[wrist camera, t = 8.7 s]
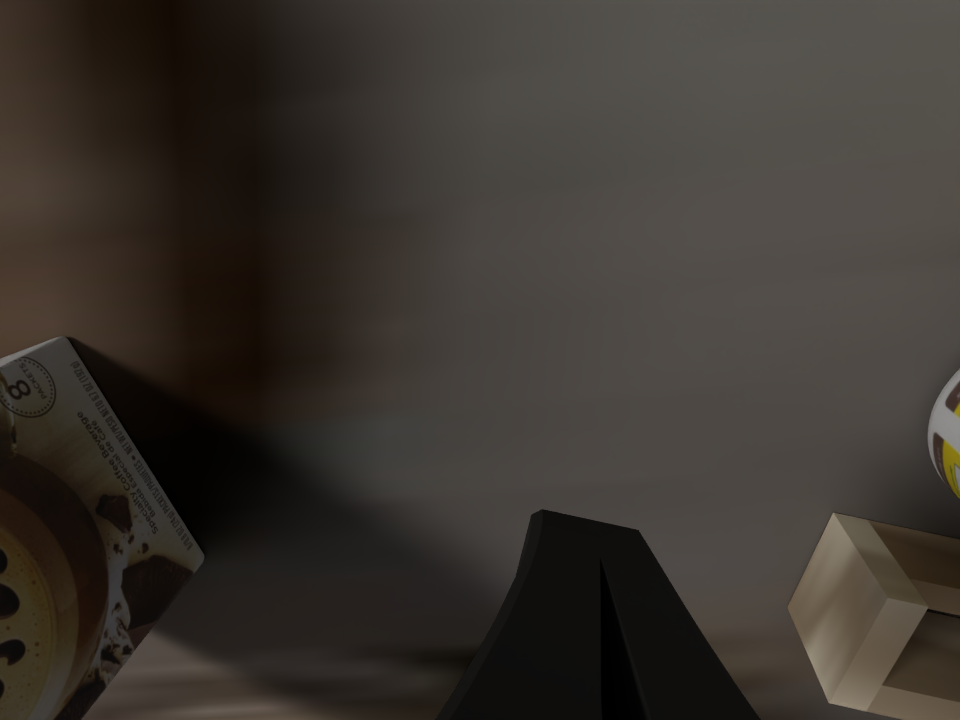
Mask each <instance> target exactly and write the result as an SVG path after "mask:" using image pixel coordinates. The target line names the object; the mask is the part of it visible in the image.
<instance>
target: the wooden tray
mask: <svg viewBox="0 0 960 720" xmlns="http://www.w3.org/2000/svg"><path fill="white" fill-rule="evenodd" d="M787 608H788V610H789V612H790V615H791V617H792V619H793V621H794V624H795V626H796V628H797V631H798V633H799V635H800V638H801V640H802V642H803V645H804V647H805V649H806V651H807V654H808V656H809V658H810V661H811V663H812V665H813V668H814V670H815V672H816V674H817V677H818V679H819V681H820V684H821V686H822V688H823V691H824V693H825V695H826V697H827V700H828V702H829V703H831V704H836V705H840V706H845V707H849V708H854V709H858V710H863V711H867V712H871V713H876V714H880V715H885V716H889V717H894V718H898V719H903V720H960V618H955V617H951V616H946V615H942V614H937V613H932V612H928V611H927V609H932V610H936V611H941V612H945V613H950V614H955V615H959V616H960V539H955V538H951V537H946V536H941V535H937V534H932V533H927V532H922V531H918V530H913V529H908V528H904V527H899V526H894V525H890V524H885V523H880V522H875V521H871V520H866V519H861V518H857V517H852V516H847V515H843V514H838V513H833V514H832V516H831V518H830V520H829V522H828V524H827V526H826V529H825V531H824V533H823V535H822V537H821V539H820V541H819V543H818V545H817V547H816V549H815V551H814V553H813V555H812V558H811V560H810V562H809V564H808V566H807V568H806V570H805V572H804V574H803V576H802V578H801V580H800V582H799V584H798V587H797V589H796V591H795V593H794V595H793V597H792V599H791V601H790V603H789V605H788V607H787Z"/></svg>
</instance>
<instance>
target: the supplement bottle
mask: <svg viewBox="0 0 960 720" xmlns="http://www.w3.org/2000/svg"><path fill="white" fill-rule="evenodd" d="M928 447H929V452H930V456H931V459H932V462H933V464H934V467H935V469H936V471H937V473H938V474H939V476H940V477H941V479H942V480H943V482H944V483H945V484H946V485H947V486H948V487H949V489H950V490H951V491H952V492H953V493H954V494H955V495H956V496H957V497H958V498H959V499H960V369H959V370H958V371H957V372H956V373H955V374H954V375H953V377H952V378H951V379H950V380H949V381H948V383H947V384H946V385H945V387H944V388H943V390H942V391H941V393H940V395H939V396H938V398H937V400H936V402H935V405H934V407H933V409H932V413H931V416H930V420H929V426H928Z"/></svg>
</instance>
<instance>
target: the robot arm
mask: <svg viewBox="0 0 960 720" xmlns="http://www.w3.org/2000/svg"><path fill="white" fill-rule="evenodd" d="M436 720H761V719H760V718H759V717H758V715H757V714H756V713H755V711H754V710H753V708H752V707H751V705H750V704H749V703H748V701H747V700H746V698H745V697H744V695H743V694H742V693H741V691H740V690H739V688H738V687H737V685H736V684H735V682H734V681H733V679H732V678H731V676H730V675H729V673H728V672H727V670H726V669H725V667H724V666H723V664H722V663H721V661H720V660H719V658H718V657H717V655H716V654H715V652H714V651H713V649H712V648H711V646H710V645H709V643H708V642H707V640H706V638H705V637H704V635H703V634H702V632H701V631H700V629H699V628H698V626H697V624H696V623H695V621H694V620H693V618H692V616H691V615H690V613H689V612H688V610H687V608H686V607H685V605H684V604H683V602H682V600H681V599H680V597H679V595H678V594H677V592H676V591H675V589H674V587H673V586H672V584H671V582H670V581H669V579H668V577H667V576H666V574H665V573H664V571H663V569H662V568H661V566H660V564H659V563H658V561H657V559H656V558H655V556H654V554H653V553H652V551H651V549H650V548H649V546H648V545H647V543H646V541H645V540H644V538H643V537H642V535H641V533H640V532H639V530H636V529H631V528H626V527H622V526H617V525H613V524H608V523H603V522H599V521H594V520H590V519H585V518H580V517H576V516H571V515H567V514H562V513H557V512H553V511H548V510H543V509H542V510H540V511H538V512H536V513H534V514H532V515H531V518H530V522H529V526H528V530H527V534H526V538H525V542H524V546H523V550H522V554H521V558H520V562H519V566H518V570H517V574H516V577H515V579H514V582H513V584H512V586H511V588H510V590H509V592H508V594H507V596H506V598H505V600H504V602H503V604H502V607H501V609H500V611H499V613H498V615H497V617H496V619H495V621H494V623H493V625H492V627H491V629H490V631H489V632H488V634H487V636H486V638H485V639H484V641H483V643H482V644H481V646H480V648H479V650H478V651H477V653H476V655H475V656H474V658H473V660H472V662H471V663H470V665H469V667H468V668H467V670H466V672H465V674H464V675H463V677H462V679H461V680H460V682H459V684H458V685H457V687H456V689H455V690H454V692H453V693H452V695H451V697H450V698H449V700H448V701H447V703H446V704H445V706H444V707H443V709H442V710H441V712H440V714H439V715H438V717H437V718H436Z"/></svg>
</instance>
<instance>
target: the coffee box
mask: <svg viewBox="0 0 960 720" xmlns="http://www.w3.org/2000/svg"><path fill="white" fill-rule="evenodd" d="M203 561H204V554H203V552H202V551H201V549H200V547H199V546H198V544H197V543H196V541H195V540H194V538H193V536H192V535H191V533H190V532H189V530H188V529H187V527H186V526H185V524H184V523H183V521H182V519H181V518H180V516H179V515H178V513H177V512H176V510H175V509H174V507H173V505H172V504H171V502H170V501H169V499H168V497H167V496H166V494H165V492H164V491H163V489H162V488H161V486H160V484H159V483H158V481H157V480H156V478H155V476H154V475H153V473H152V472H151V470H150V469H149V467H148V465H147V464H146V462H145V461H144V459H143V458H142V456H141V455H140V453H139V451H138V450H137V448H136V447H135V445H134V443H133V442H132V440H131V439H130V437H129V436H128V434H127V432H126V431H125V429H124V428H123V426H122V424H121V423H120V421H119V420H118V418H117V417H116V415H115V413H114V412H113V410H112V409H111V407H110V405H109V404H108V402H107V401H106V399H105V397H104V396H103V394H102V392H101V391H100V389H99V388H98V386H97V384H96V383H95V381H94V380H93V378H92V377H91V375H90V373H89V372H88V370H87V369H86V367H85V365H84V364H83V362H82V361H81V359H80V357H79V356H78V354H77V353H76V351H75V349H74V348H73V346H72V345H71V343H70V342H69V340H68V339H67V338H66V337H64V336H61V337H57V338H54V339H51V340H48V341H46V342H43V343H41V344H38V345H36V346H33V347H30V348H28V349H25V350H22V351H20V352H17V353H14V354H12V355H9V356H6V357H4V358H1V359H0V720H81V719H82V718H83V717H84V715H85V714H86V713H87V711H88V710H89V709H90V708H91V706H92V705H93V704H94V702H95V701H96V700H97V699H98V697H99V696H100V695H101V694H102V692H103V691H104V690H105V689H106V687H107V686H108V685H109V683H110V682H111V681H112V679H113V678H114V677H115V676H116V674H117V673H118V672H119V670H120V669H121V668H122V667H123V665H124V664H125V663H126V661H127V660H128V659H129V658H130V656H131V655H132V653H133V652H134V650H135V649H136V648H137V647H138V645H139V644H140V643H141V642H142V640H143V639H144V638H145V636H146V635H147V634H148V633H149V631H150V630H151V629H152V627H153V626H154V625H155V623H156V622H157V621H158V619H159V618H160V617H161V616H162V614H163V613H164V612H165V610H166V609H167V608H168V607H169V605H170V604H171V603H172V601H173V600H174V599H175V598H176V596H177V595H178V594H179V592H180V591H181V590H182V588H183V587H184V586H185V585H186V583H187V582H188V581H189V580H190V578H191V577H192V576H193V575H194V573H195V572H196V571H197V570H198V568H199V567H200V566H201V564H202V563H203Z"/></svg>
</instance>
